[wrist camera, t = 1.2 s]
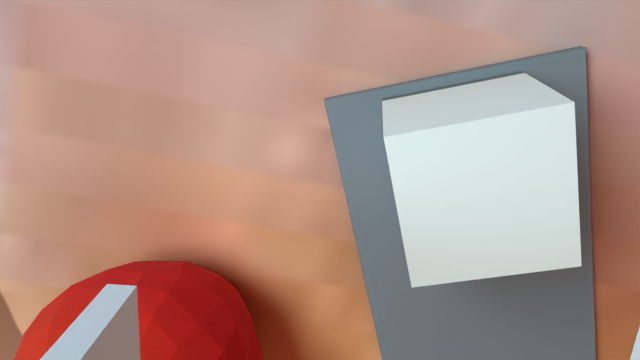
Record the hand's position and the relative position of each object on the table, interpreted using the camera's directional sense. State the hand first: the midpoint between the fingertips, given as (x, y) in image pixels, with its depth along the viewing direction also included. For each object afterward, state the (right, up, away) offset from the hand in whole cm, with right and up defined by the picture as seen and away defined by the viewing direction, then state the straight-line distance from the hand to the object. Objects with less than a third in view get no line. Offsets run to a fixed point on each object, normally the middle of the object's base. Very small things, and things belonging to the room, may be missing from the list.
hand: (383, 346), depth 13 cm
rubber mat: (+8, -3, +17) cm, 19 cm away
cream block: (+6, +6, +13) cm, 16 cm away
